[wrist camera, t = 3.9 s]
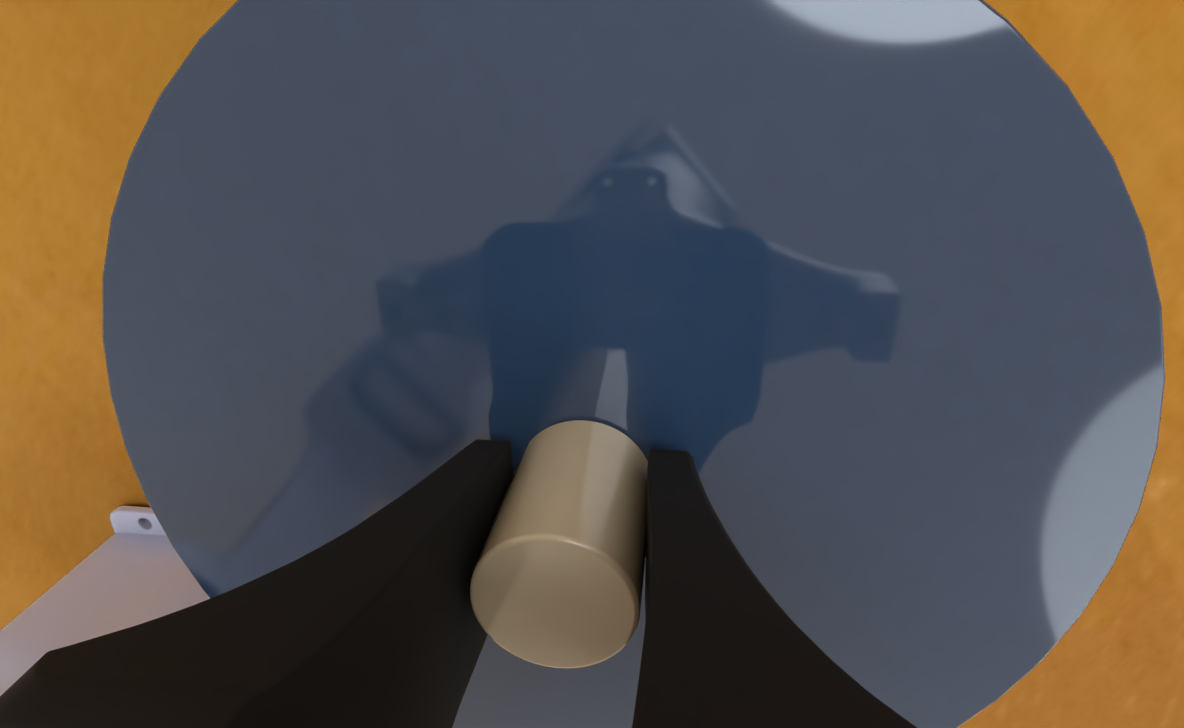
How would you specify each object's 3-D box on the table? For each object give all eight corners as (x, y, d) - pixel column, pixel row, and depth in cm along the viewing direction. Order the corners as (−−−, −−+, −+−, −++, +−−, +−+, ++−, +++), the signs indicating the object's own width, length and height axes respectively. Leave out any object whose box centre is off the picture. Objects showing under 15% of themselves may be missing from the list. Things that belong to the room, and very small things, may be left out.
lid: (257, 723, 18) (140, 905, 15) (1, -92, 11) (-381, -166, 7) (991, 805, 16) (1085, 1047, 12) (1319, -157, 9) (1837, -322, 5)
